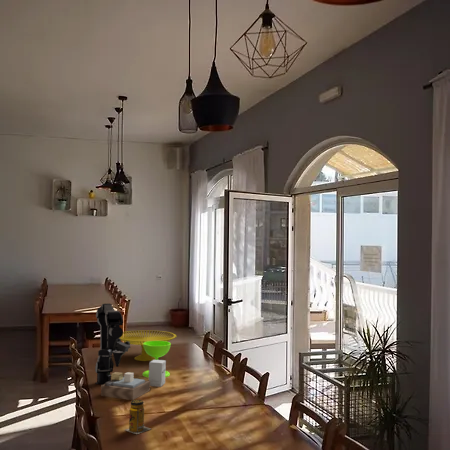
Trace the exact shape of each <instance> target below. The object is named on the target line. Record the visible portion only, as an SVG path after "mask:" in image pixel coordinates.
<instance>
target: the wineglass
mask: <svg viewBox="0 0 450 450" xmlns="http://www.w3.org/2000/svg"><path fill="white" fill-rule="evenodd" d="M171 345H172V343H171V342H170V341H168V342H167V341H147V342H144V343H143V347H144V350H145V351H146V353H147V354H148V355H150V356H152V357H155V360H159V358H161V357H162V358H163V357H164V356H165V355H167V354H168V352H169V351H170V349H171ZM141 375H142V376H143V377H144V378H148V379H149V369H147V370H145V371H144V372H142V374H141ZM170 375H171V373H170V372H169V371H168V370H166V371H165V378H167V377H169V376H170Z"/></svg>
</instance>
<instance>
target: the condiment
mask: <svg viewBox="0 0 450 450" xmlns="http://www.w3.org/2000/svg"><path fill="white" fill-rule="evenodd" d="M144 403H145V402H144V400H141V399H134V400H130V407H129V417H128V418H129V419H128V420H129V421H128V428H127V429H125V431H126V432H129V433H132V434H135V435H138V434H141V433H145V432H147V431H149V430H151V429H152V428H150V427H147V426H145V407H144V406H145V405H144Z"/></svg>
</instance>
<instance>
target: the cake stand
mask: <svg viewBox="0 0 450 450" xmlns="http://www.w3.org/2000/svg"><path fill="white" fill-rule="evenodd" d="M176 338H177V334H176V333H173V332H170V331H163V330H153V329H150V330H149V329H147V330H145V329H144V330H139V329H138V330H128V331H123V335H122V336H121V337H120V339H121V342H124V343H125V342H126V341H129V342H130V345H132V346H133V345H134V346H135V345H137V346H140V347H141V353H140V354H138V355H137V356H135V357H134V360H136V361H141V362H151V361H152V360H155V357H152V356H150V355H148V354H147V353H146V351H145V350H144V347H143V343H144V342H147V341H167V342H170V341H172V340H174V339H176Z"/></svg>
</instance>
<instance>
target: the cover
mask: <svg viewBox="0 0 450 450" xmlns="http://www.w3.org/2000/svg"><path fill="white" fill-rule="evenodd" d="M134 374H135V372H130V371H128V372H125V373H123V376H124V378H123V379H121V380H119V381H118V380H117V381H115V382H113V383H112V385H115V386H122V387H130V388H134V387H136V386H138V385H140V384H142V383H144V382H145V379H140V378H134V377H135V376H134Z"/></svg>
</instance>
